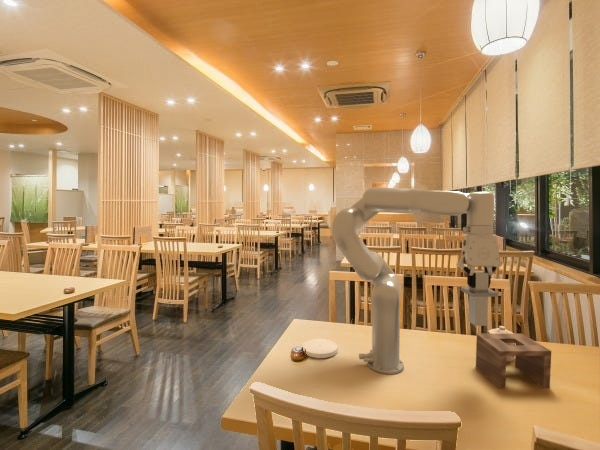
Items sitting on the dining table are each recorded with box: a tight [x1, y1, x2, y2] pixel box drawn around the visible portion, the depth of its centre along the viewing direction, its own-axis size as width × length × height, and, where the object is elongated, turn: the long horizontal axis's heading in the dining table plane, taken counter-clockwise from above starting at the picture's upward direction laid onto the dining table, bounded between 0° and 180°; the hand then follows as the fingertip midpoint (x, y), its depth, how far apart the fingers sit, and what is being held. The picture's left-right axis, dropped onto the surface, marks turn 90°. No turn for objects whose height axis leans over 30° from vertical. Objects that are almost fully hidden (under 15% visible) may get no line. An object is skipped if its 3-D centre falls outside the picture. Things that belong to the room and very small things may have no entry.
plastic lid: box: [301, 338, 339, 359], centre depth 133 cm, size 14×14×2 cm
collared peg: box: [459, 270, 499, 327], centre depth 109 cm, size 8×8×17 cm
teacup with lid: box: [487, 325, 516, 363], centre depth 128 cm, size 12×9×12 cm
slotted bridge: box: [475, 333, 552, 389], centre depth 112 cm, size 16×14×12 cm
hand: (478, 286), depth 109 cm, fingers closed on collared peg, 4 cm apart
